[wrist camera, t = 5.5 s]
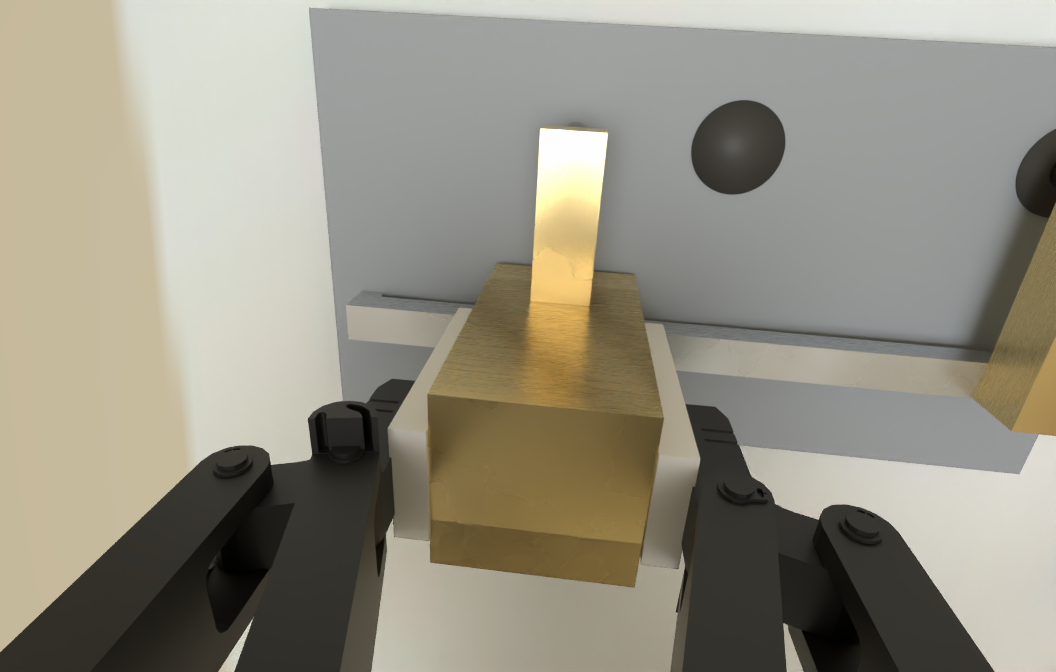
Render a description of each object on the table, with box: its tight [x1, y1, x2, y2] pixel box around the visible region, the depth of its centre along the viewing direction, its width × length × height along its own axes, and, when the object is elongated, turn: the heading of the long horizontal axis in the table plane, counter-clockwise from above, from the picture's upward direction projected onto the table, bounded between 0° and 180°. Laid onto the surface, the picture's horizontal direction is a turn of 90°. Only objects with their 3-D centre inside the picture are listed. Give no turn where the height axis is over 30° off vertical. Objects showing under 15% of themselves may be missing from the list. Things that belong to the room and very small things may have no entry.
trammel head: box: [427, 122, 664, 587], centre depth 15 cm, size 4×9×8 cm, turn 177°
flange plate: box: [309, 8, 1056, 474], centre depth 19 cm, size 24×13×1 cm, turn 87°
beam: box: [346, 163, 1056, 436], centre depth 17 cm, size 22×7×3 cm, turn 87°
